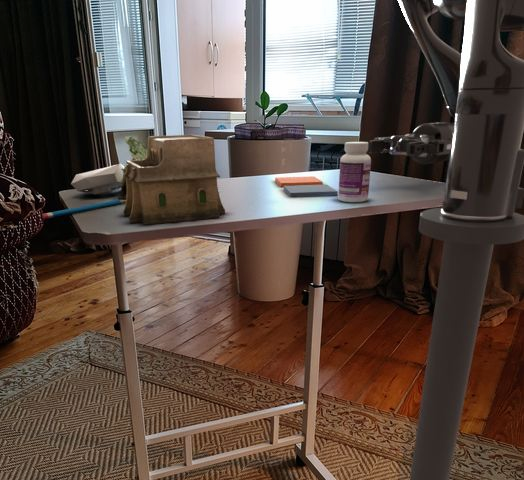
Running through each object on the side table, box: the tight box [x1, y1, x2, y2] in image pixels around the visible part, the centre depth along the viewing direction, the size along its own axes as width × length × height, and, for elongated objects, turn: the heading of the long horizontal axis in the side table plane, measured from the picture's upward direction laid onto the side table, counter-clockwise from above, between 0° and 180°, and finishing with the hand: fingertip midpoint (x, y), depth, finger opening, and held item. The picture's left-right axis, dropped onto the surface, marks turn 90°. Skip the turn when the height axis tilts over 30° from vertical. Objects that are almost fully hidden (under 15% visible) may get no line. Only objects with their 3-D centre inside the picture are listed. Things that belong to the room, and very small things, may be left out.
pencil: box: [41, 199, 126, 220], centre depth 85 cm, size 1×17×1 cm, turn 144°
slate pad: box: [283, 184, 339, 198], centre depth 98 cm, size 9×9×1 cm
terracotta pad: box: [274, 176, 324, 188], centre depth 110 cm, size 9×9×1 cm
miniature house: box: [122, 134, 226, 226], centre depth 79 cm, size 15×14×11 cm
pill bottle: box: [337, 141, 372, 203], centre depth 88 cm, size 5×5×10 cm
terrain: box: [124, 135, 148, 160], centre depth 91 cm, size 15×9×2 cm
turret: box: [70, 163, 126, 196], centre depth 103 cm, size 10×20×5 cm, turn 169°
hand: (388, 148), depth 92 cm, fingers open, 8 cm apart
